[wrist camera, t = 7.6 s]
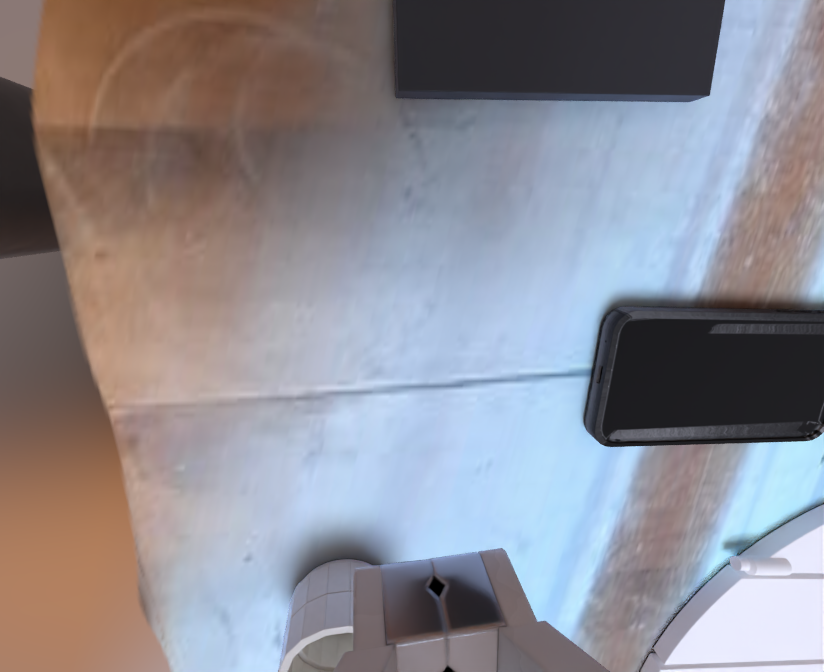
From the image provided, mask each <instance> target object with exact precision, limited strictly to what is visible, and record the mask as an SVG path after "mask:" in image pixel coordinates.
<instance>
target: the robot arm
mask: <svg viewBox="0 0 824 672" xmlns="http://www.w3.org/2000/svg"><path fill="white" fill-rule="evenodd" d="M381 576H382V580H381ZM382 590H383V593H382ZM383 604H384V605H383ZM333 672H610V671H608V670H607V669H606V668H605V667H603V666H602V665H601V664H600V663H598V662H597V661H596V660H595V659H593V658H592V657H591V656H589V655H588V654H587V653H586V652H584V651H583V650H582V649H581V648H579V647H578V646H577V645H575V644H574V643H573V642H572V641H570V640H569V639H568V638H567V637H565V636H564V635H563V634H561V633H560V632H559V631H558V630H556V629H555V628H554V627H553V626H551V625H550V624H549V623H547V622H546V621H540V622H537V620H536V617H535V615H534V613H533V611H532V609H531V606H530V604H529V602H528V600H527V597H526V595H525V593H524V591H523V589H522V586H521V584H520V582H519V580H518V578H517V575H516V573H515V571H514V569H513V566H512V564H511V562H510V560H509V558H508V555H507V553H506V551H505V550H503V549H502V548H499V549H493V550H486V551H479V552H478V553H477V552H472V553H465V554H459V555H452V556H445V557H438V558H431V559H426V560H417V561H408V562H398V563H389V564H381V568H380V565H376V566H367V567H357V568H355V569H354V575H353V651H348V652H344V654H343V656H342V657H341V659H340V661H339V662H338V664H337V666H336V667H335V669H334V671H333Z"/></svg>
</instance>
